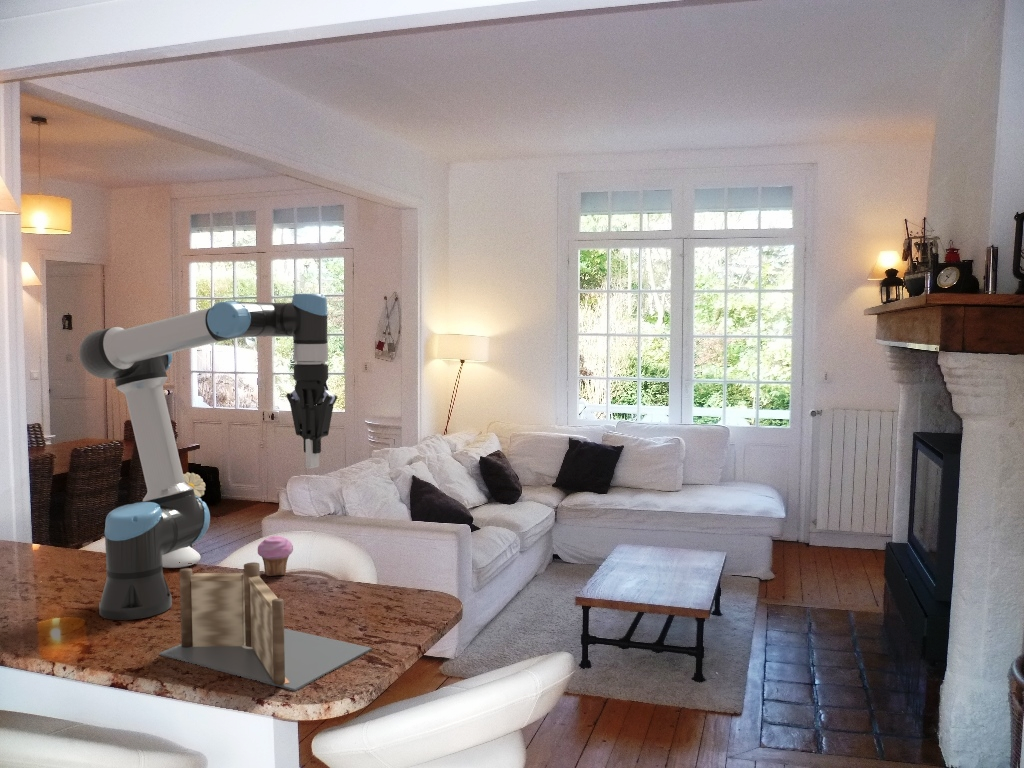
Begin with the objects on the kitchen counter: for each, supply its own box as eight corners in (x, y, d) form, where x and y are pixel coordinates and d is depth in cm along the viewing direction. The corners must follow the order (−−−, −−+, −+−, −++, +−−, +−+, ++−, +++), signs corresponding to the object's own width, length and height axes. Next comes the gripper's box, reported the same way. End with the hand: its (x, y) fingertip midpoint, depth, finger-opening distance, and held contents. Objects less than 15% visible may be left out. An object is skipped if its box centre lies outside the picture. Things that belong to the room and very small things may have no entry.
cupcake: (257, 580, 219) (257, 541, 218) (258, 570, 227) (257, 533, 227) (294, 577, 221) (293, 538, 221) (293, 568, 230) (292, 531, 229)
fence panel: (250, 646, 172) (248, 572, 171) (260, 644, 173) (258, 571, 172) (275, 685, 154) (273, 602, 152) (286, 683, 154) (284, 601, 153)
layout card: (159, 654, 170) (159, 652, 170) (243, 620, 189) (243, 618, 189) (295, 691, 153) (295, 688, 153) (372, 649, 172) (371, 647, 172)
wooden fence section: (179, 648, 172) (177, 567, 171) (184, 642, 175) (182, 562, 174) (258, 647, 173) (257, 566, 171) (262, 641, 176) (261, 562, 174)
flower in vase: (155, 573, 224) (153, 478, 223) (154, 562, 235) (152, 471, 233) (209, 568, 230) (206, 474, 228) (205, 557, 240) (203, 468, 238)
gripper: (344, 363, 194) (346, 467, 195) (300, 361, 200) (301, 462, 202) (322, 364, 187) (323, 472, 189) (277, 363, 193) (279, 467, 195)
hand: (312, 467), depth 195 cm, fingers closed
